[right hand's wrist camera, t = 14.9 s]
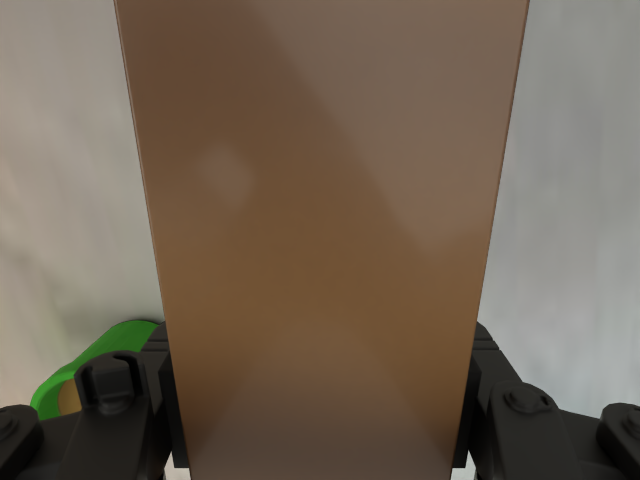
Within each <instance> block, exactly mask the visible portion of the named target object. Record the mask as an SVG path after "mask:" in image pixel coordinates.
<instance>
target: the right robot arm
mask: <svg viewBox="0 0 640 480" xmlns="http://www.w3.org/2000/svg"><path fill="white" fill-rule="evenodd" d="M73 376H74V380H75V384H76V388H77V391H78V395H79V399H80V403H81V406H82V409H81V411H78V412H74V413H71V414H67V415H63V416H58V417H54V418H49V419H45V420H41V421H40V418H39V415H38V412H37V410H35V409H34V408H33V407H32V406H28V405H21V404H20V405H13V406H6V407H3V408H0V480H166V475H165V470H164V468H165V465H166V463H167V460H168V458H169V455H170V453H171V451H172V457H173V463H174V468H189V465H188V459H187V452H186V446H185V440H184V434H183V428H182V421H181V415H180V409H179V403H178V397H177V390H176V384H175V378H174V372H173V366H172V359H171V353H170V347H169V341H168V334H167V328H166V322H165V321H164V322H163V323H162V324H160V325H159V326H157V327H156V328H155V329H154V330H153V332H152V333H151V335H150V336H149V338H148V339H147V342H145V344H144V345H143V347H142V348H141V351H140V352H135V351H130V350H115V351H111V352H107V353H103V354H101V355H98V356H96V357H94V358H92V359H90V360H88V361H87V362H86V363H84V364H83V365H81V366H80V367H79V368H78V370H77V371H76V372H75V374H74V375H73ZM468 449H469V452H470V454H471V457H472V459H473V462H474V464H475V466H476V470H475V475H474V480H640V407H639V406H636V405H633V404H626V403H614V404H609V405H608V406H606V407H605V408H604V409H603V411H602V414H601V417H600V419H598V418H593V417H589V416H585V415H580V414H576V413H571V412H568V411H564V410H561V409H559V408H558V406H557V405H556V403H555V402H554V400H553V399H552V398H551V397H550V396H549V395H548V394H546V393H545V392H544V391H543V390H541V389H539V388H537V387H535V386H533V385H531V384H528V383H524V382H522V380H521V379H520V377H519V376H518V374H517V373H516V371H515V370H514V369H513V367H512V366H511V364H510V363H509V361H508V360H507V358H506V357H505V356H504V354H503V353H502V351H501V350H499V347H498V345H497V344H496V342H495V341H493V338H492V337H491V335H490V334H489V332H488V331H487V329H486V328H485V327H484V326H483V325H481V324H480V323H479V322H477V323H476V329H475V335H474V341H473V347H472V353H471V359H470V365H469V371H468V377H467V383H466V389H465V395H464V401H463V407H462V413H461V419H460V425H459V432H458V438H457V444H456V450H455V456H454V462H453V468H465V466H466V461H467V455H468Z"/></svg>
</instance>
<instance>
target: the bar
mask: <svg viewBox="0 0 640 480" xmlns="http://www.w3.org/2000/svg"><path fill="white" fill-rule="evenodd" d="M529 2H530V0H114V6H115V12H116V18H117V24H118V31H119V37H120V43H121V49H122V55H123V62H124V68H125V74H126V80H127V86H128V93H129V99H130V105H131V111H132V117H133V124H134V130H135V136H136V142H137V148H138V155H139V161H140V167H141V173H142V179H143V186H144V192H145V198H146V204H147V210H148V217H149V223H150V229H151V235H152V241H153V248H154V254H155V260H156V266H157V272H158V279H159V285H160V291H161V297H162V303H163V310H164V316H165V322H166V328H167V334H168V341H169V347H170V353H171V359H172V366H173V372H174V378H175V384H176V390H177V397H178V403H179V409H180V415H181V421H182V428H183V434H184V440H185V446H186V452H187V459H188V465H189V471H190V477H191V480H451V474H452V468H453V462H454V456H455V450H456V444H457V438H458V432H459V425H460V419H461V413H462V407H463V401H464V395H465V389H466V383H467V377H468V371H469V365H470V359H471V353H472V347H473V341H474V335H475V329H476V323H477V317H478V311H479V305H480V299H481V292H482V286H483V280H484V274H485V268H486V262H487V256H488V250H489V244H490V238H491V232H492V226H493V220H494V214H495V208H496V202H497V196H498V190H499V184H500V178H501V172H502V165H503V159H504V153H505V147H506V141H507V135H508V129H509V123H510V117H511V111H512V105H513V99H514V93H515V87H516V81H517V75H518V69H519V63H520V57H521V51H522V45H523V38H524V32H525V26H526V20H527V14H528V8H529Z"/></svg>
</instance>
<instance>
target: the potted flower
mask: <svg viewBox="0 0 640 480" xmlns="http://www.w3.org/2000/svg"><path fill="white" fill-rule="evenodd" d="M157 326H159V325H157V324H155V323H152V322H148V321H140V320H134V321H126V322H123V323H119V324H117V325H115V326H113V327H112V328H110V329H109V330H108V331H107V332H106V333H105V334H104V335H102V336H101V337H100V338H99V339H98V340H97V341H96V342H95V343H93V344H92V345H91V346H90V347H89V348H88V349H87V350H85V351H84V352H83V353H82V354H81V355H80V356H79V357H78V358H76V359H75V360H74V361H73V362H72V363H69V364H67V365H65V366H64V367H62V368H60V369H59V370H58V371H57V372H55V373H54V374H53V375H52V376H51V377H50V378H49V379H47V380H46V381H45V382H44V383H43V384H42V385H41V386H40V387H39V388H38V389H37V390H36V392H35V393H34V395H33V397H32V400H31V403H30V406H32V407H33V408H34V409H35V410H37V412H38V415H39V418H40V421H41V420H45V419H49V418H54V417H58V416H63V415H67V414H71V413H74V412H78V411H81V409H82V406H81V403H80V399H79V395H78V391H77V388H76V384H75V380H74V376H73V375H74V374H75V372H76V371H77V370H78V368H79V367H80V366H81V365H83V364H84V363H86V362H87V361H88V360H90V359H92V358H94V357H96V356H98V355H101V354H103V353H107V352H111V351H115V350H130V351H135V352H140V351H141V348H142V347H143V345H144V344H145V342H147V339H148V338H149V336H150V335H151V333H152V332H153V330H154V329H155V328H156V327H157Z"/></svg>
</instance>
